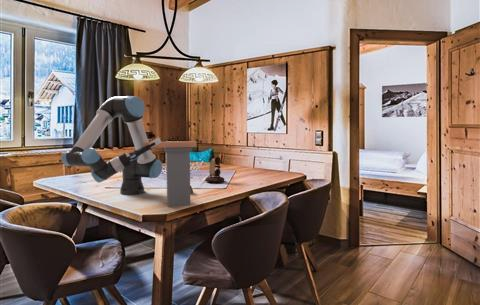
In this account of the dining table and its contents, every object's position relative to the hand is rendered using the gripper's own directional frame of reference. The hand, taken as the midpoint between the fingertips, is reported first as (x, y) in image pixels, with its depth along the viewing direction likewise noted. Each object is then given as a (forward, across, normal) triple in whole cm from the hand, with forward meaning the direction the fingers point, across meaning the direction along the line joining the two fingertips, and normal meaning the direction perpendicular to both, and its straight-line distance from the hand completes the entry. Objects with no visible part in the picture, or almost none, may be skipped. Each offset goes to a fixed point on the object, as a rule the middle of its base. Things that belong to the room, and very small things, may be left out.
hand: (160, 139), depth 171 cm
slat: (+3, 0, -6) cm, 7 cm away
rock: (-4, -26, -40) cm, 48 cm away
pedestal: (-10, 0, -36) cm, 38 cm away
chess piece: (+19, -59, -54) cm, 82 cm away
